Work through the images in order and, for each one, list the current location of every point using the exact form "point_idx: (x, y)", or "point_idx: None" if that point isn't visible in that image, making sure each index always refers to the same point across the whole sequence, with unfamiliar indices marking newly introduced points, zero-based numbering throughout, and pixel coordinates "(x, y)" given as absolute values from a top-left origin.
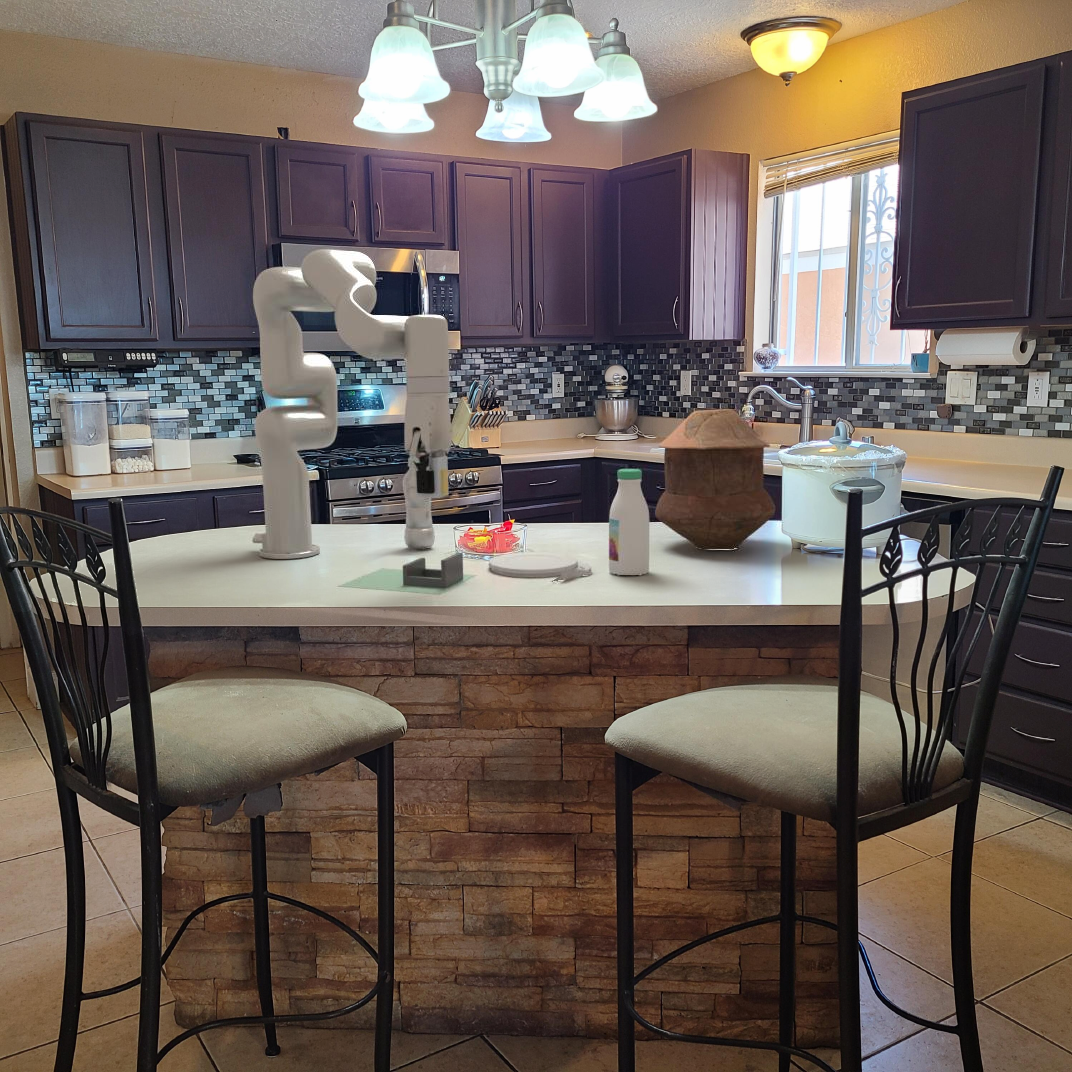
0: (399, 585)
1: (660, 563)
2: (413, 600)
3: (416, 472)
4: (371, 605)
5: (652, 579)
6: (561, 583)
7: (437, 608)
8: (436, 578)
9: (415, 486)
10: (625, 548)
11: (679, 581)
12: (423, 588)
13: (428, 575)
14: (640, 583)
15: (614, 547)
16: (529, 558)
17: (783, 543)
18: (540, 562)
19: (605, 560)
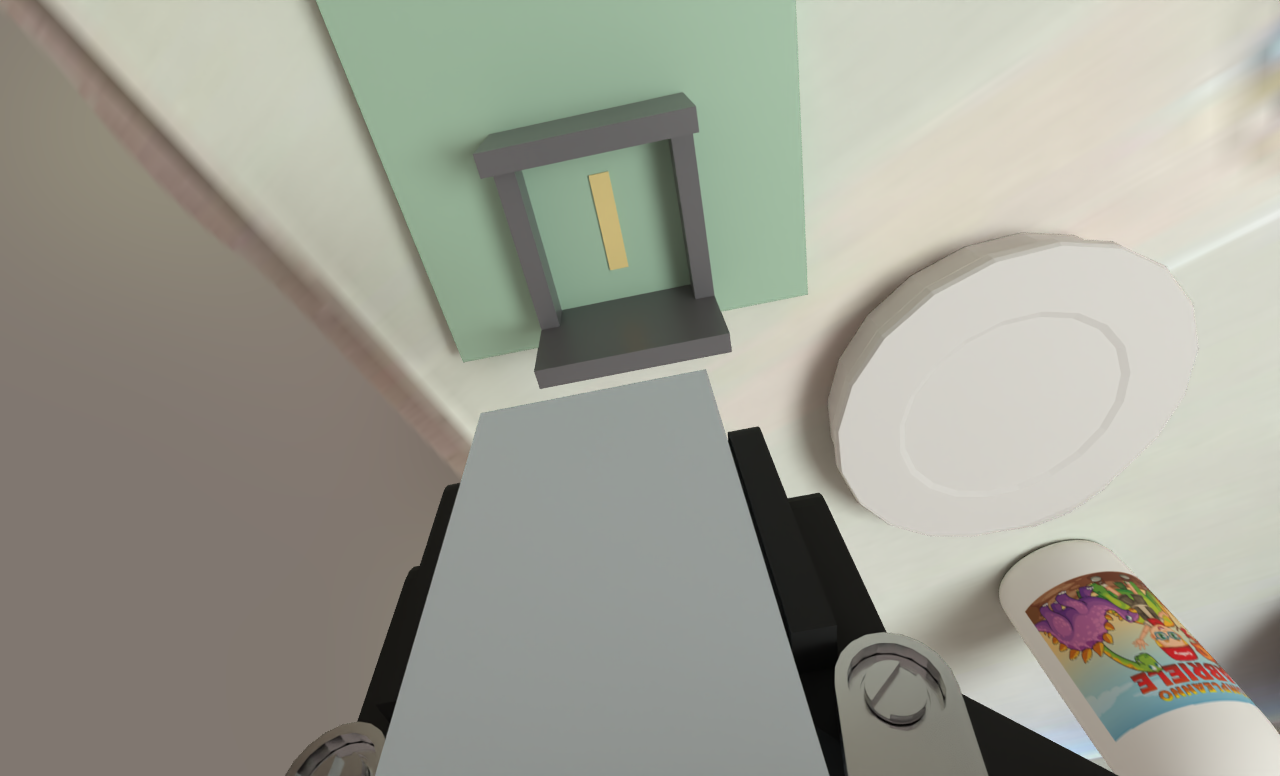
0: (474, 121)
1: (1196, 585)
2: (414, 264)
3: (387, 677)
4: (234, 169)
5: (979, 637)
6: (867, 509)
7: (391, 398)
8: (541, 304)
9: (460, 486)
10: (1044, 664)
11: (969, 677)
12: (497, 255)
13: (670, 148)
14: (926, 635)
15: (1060, 639)
16: (1061, 376)
17: None
18: (989, 442)
19: (1247, 463)
